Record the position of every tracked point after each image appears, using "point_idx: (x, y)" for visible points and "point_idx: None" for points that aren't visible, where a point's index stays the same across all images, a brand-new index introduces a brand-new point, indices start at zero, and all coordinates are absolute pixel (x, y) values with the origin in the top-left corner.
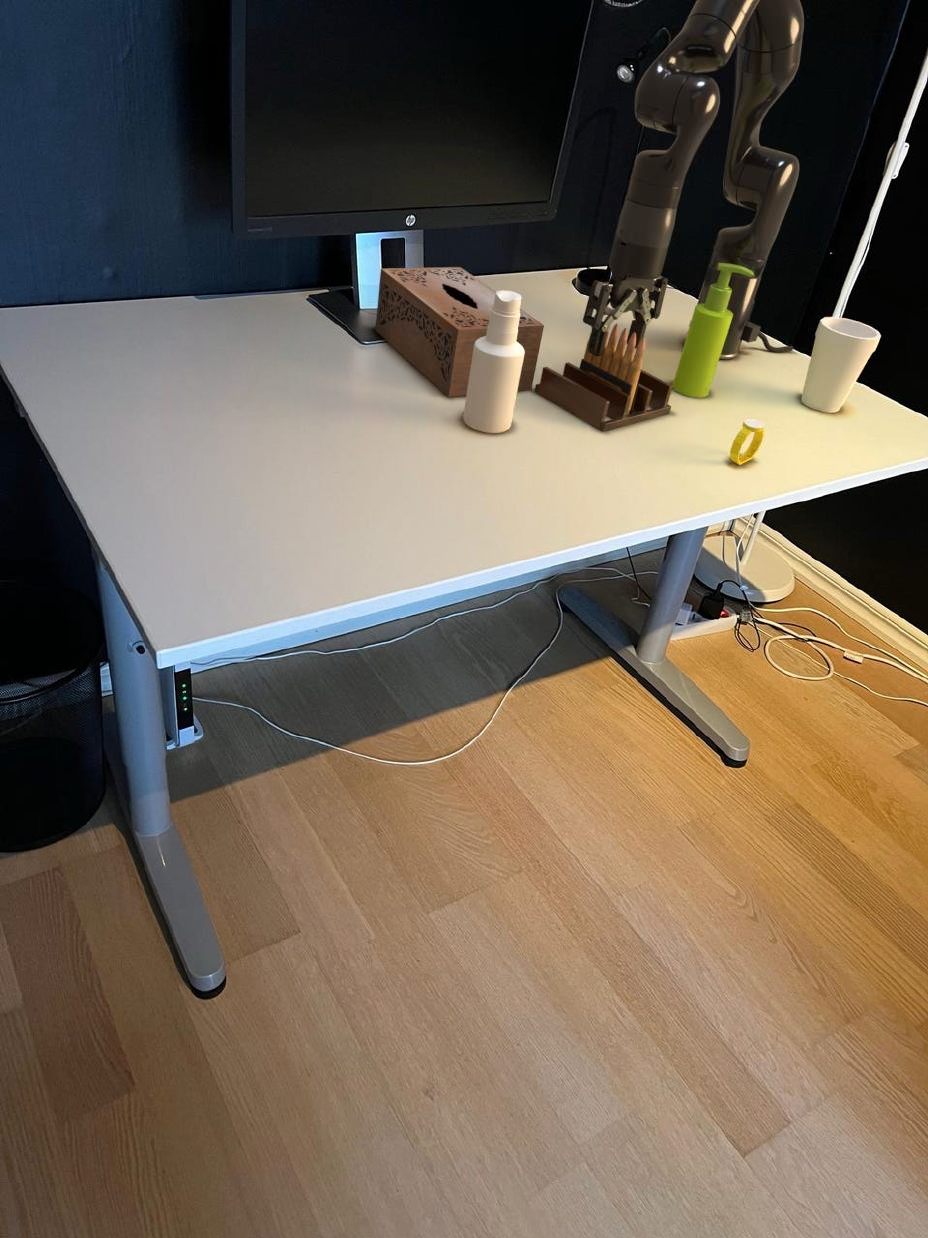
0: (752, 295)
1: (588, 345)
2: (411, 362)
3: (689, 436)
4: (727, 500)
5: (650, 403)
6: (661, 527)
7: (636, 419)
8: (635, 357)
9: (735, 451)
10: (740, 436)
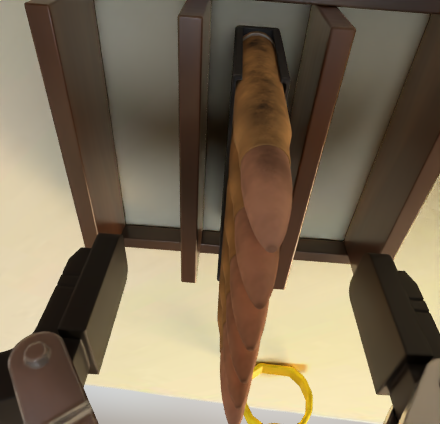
0: None
1: (67, 263)
2: None
3: (281, 308)
4: (150, 387)
5: (355, 214)
6: None
7: None
8: (220, 346)
9: None
10: (246, 416)
